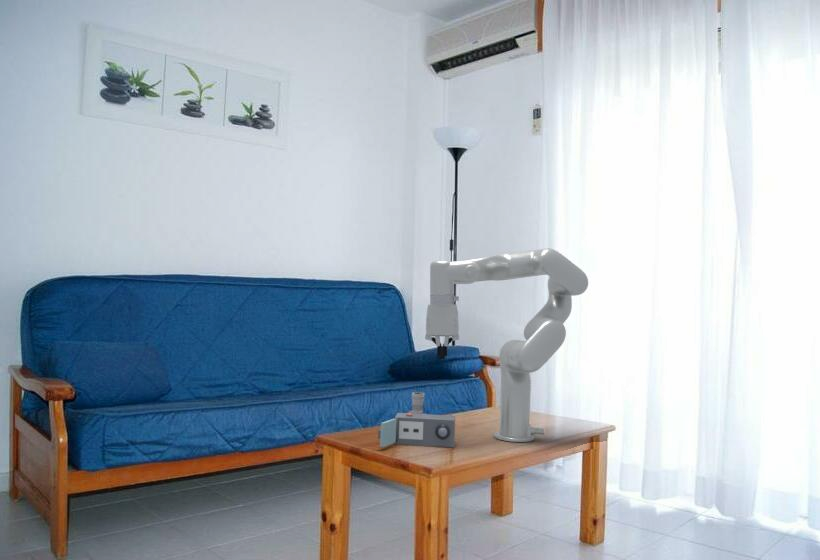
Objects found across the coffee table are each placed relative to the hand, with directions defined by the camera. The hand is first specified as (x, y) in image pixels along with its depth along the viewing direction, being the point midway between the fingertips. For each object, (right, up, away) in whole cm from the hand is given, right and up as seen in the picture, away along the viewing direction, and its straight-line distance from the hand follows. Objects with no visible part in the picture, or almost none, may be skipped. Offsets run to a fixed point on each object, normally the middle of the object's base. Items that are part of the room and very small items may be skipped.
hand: (442, 358), depth 202 cm
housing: (-6, -25, -5) cm, 26 cm away
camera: (-6, -26, +15) cm, 31 cm away
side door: (-17, -23, -13) cm, 32 cm away
